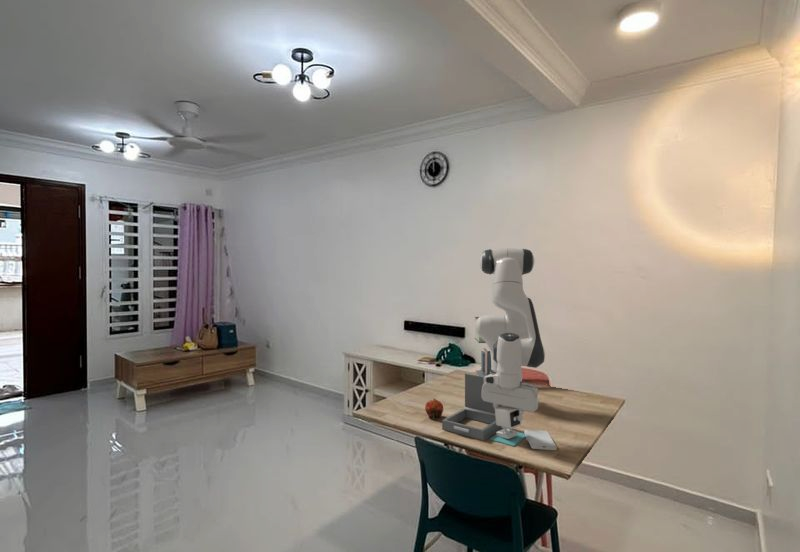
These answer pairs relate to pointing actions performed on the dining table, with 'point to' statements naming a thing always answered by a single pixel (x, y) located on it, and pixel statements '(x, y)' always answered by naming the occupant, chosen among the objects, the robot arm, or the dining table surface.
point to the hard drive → (540, 440)
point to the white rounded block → (507, 421)
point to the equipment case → (473, 412)
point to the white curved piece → (483, 357)
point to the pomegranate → (434, 408)
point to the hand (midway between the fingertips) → (508, 418)
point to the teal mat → (511, 441)
